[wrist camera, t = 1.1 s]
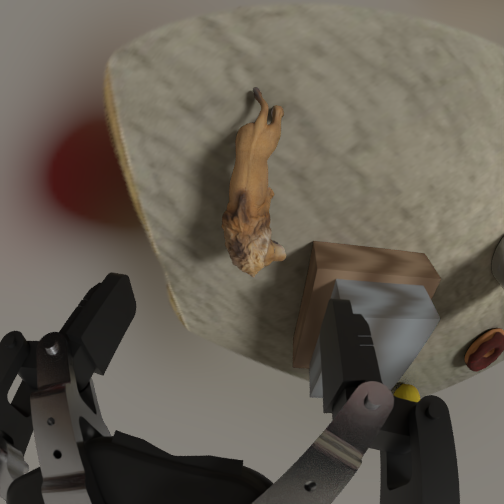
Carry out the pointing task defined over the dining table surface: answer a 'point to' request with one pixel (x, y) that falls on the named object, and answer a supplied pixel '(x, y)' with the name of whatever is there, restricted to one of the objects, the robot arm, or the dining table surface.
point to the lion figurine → (253, 194)
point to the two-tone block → (368, 304)
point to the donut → (485, 350)
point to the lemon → (407, 393)
